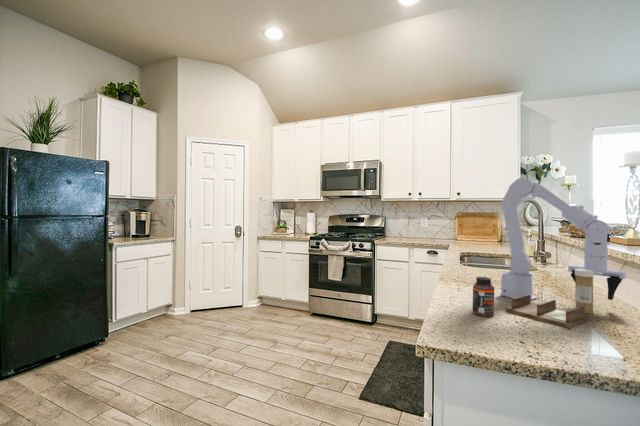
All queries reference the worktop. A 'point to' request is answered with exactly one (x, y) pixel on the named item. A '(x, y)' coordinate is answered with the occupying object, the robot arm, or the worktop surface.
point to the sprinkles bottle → (584, 289)
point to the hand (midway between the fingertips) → (595, 296)
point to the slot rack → (548, 312)
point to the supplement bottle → (483, 297)
